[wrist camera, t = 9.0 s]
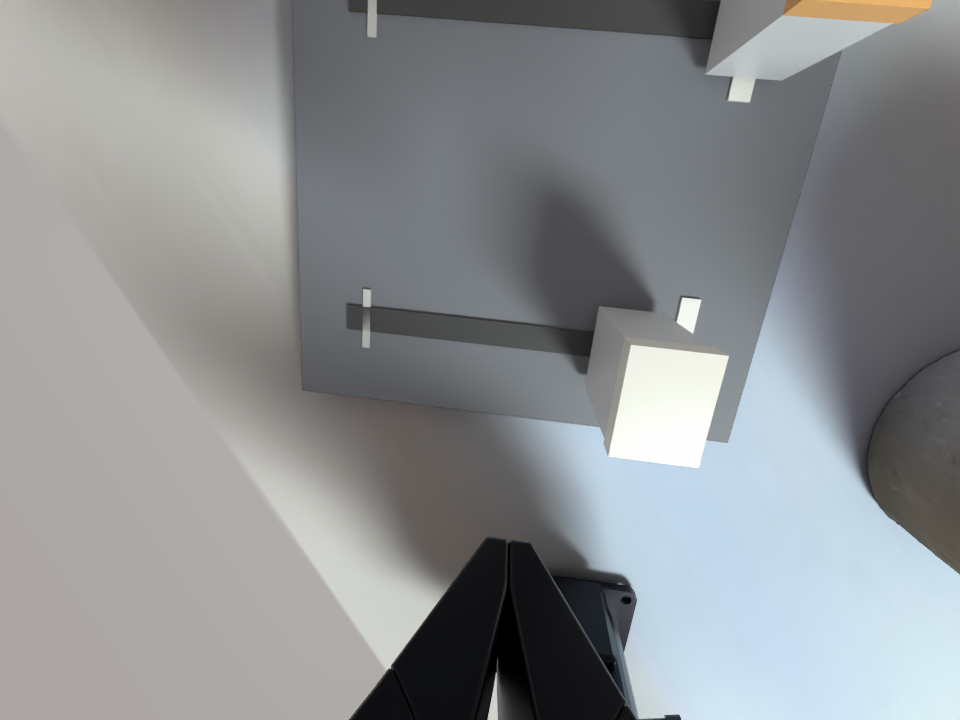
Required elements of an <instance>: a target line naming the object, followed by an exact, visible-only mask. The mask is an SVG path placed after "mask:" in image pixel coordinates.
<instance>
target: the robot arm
mask: <svg viewBox="0 0 960 720" xmlns="http://www.w3.org/2000/svg"><path fill="white" fill-rule="evenodd" d="M624 596H628V597H627V598H622V597H624ZM636 602H637V598H636V595H635V592H634V590H633V589H632V588H631V587H628V586H623V585H616V584H609V583H602V582H595V581H588V580H581V579H574V578H567V577H560V576H553V575H550V573H549V571H548V570H547V568H546V566H545V565H544V563H543V561H542V560H541V558H540V556H539V555H538V553H537V551H536V550H535V548H534V546H533V545H532V544H531V543H529V542H524V541H517V540H511V541H510V542H509V544H508V541H507V540H506V539H502V538H495V537H487V538H486V539H485V540H484V541H483V542H482V544H481V545H480V546H479V548H478V549H477V550H476V552H475V553H474V554H473V556H472V557H471V559H470V560H469V561H468V563H467V564H466V565H465V567H464V568H463V569H462V571H461V572H460V573H459V575H458V576H457V577H456V579H455V580H454V581H453V583H452V584H451V585H450V587H449V588H448V590H447V591H446V592H445V594H444V595H443V596H442V598H441V599H440V600H439V602H438V603H437V604H436V606H435V607H434V608H433V610H432V611H431V612H430V614H429V615H428V616H427V618H426V619H425V620H424V622H423V623H422V625H421V626H420V627H419V629H418V630H417V631H416V633H415V634H414V635H413V637H412V638H411V639H410V641H409V642H408V643H407V645H406V646H405V647H404V649H403V650H402V651H401V653H400V654H399V656H398V657H397V658H396V660H395V661H394V662H393V664H392V665H391V669H388V670H387V671H386V673H385V674H384V675H383V677H382V678H381V679H380V681H379V682H378V683H377V685H376V686H375V688H374V689H373V690H372V691H371V693H370V694H369V695H368V697H367V698H366V699H365V700H364V701H363V703H362V704H361V705H360V706H359V708H358V709H357V710H356V712H355V713H354V714H353V715H352V717H351V718H350V719H349V720H487V718H488V713H489V708H490V703H491V697H492V692H493V687H494V680H495V674H496V672H497V703H498V720H681V718H680V716H679V715H665V718H654V719H639V717H638V713H637V709H636V704H635V700H634V696H633V691H632V687H631V683H630V678H629V674H628V670H627V665H626V661H625V657H624V650H625V646H626V642H627V638H628V634H629V630H630V626H631V622H632V618H633V614H634V610H635V606H636Z"/></svg>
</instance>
